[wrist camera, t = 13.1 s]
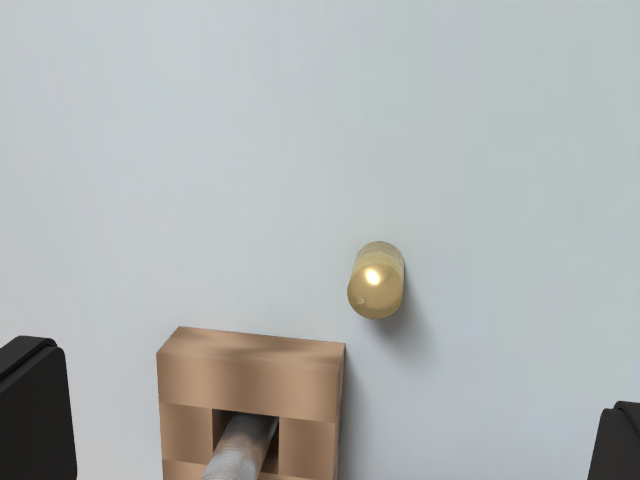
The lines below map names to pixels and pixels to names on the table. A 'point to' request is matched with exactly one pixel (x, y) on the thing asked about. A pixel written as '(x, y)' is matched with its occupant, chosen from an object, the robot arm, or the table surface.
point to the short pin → (377, 281)
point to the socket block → (250, 400)
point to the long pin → (242, 447)
